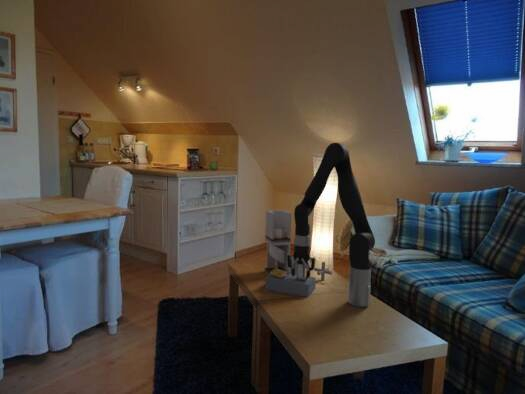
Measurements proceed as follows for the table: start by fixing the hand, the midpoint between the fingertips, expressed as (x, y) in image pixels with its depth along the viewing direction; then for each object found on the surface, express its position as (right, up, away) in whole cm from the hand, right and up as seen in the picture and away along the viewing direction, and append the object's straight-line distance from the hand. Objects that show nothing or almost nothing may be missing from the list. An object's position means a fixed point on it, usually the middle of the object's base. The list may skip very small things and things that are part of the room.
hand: (300, 276), depth 196 cm
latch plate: (-10, 0, +4) cm, 11 cm away
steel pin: (0, -7, +1) cm, 7 cm away
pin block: (-5, -7, +3) cm, 9 cm away
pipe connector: (+14, -6, +18) cm, 23 cm away
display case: (-11, -4, +27) cm, 29 cm away
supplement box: (0, -5, +18) cm, 19 cm away
